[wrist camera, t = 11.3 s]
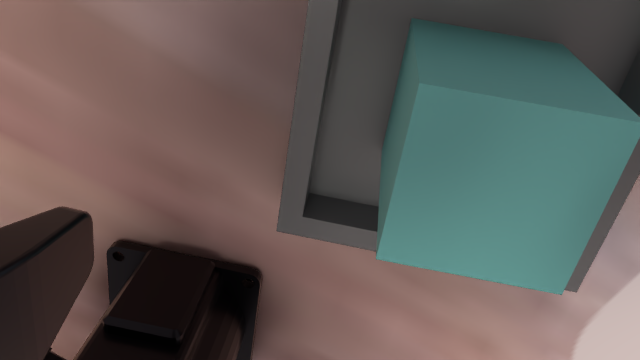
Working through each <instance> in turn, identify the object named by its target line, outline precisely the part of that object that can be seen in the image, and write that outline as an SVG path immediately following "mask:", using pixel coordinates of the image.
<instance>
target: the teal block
mask: <svg viewBox="0 0 640 360" xmlns="http://www.w3.org/2000/svg"><path fill="white" fill-rule="evenodd" d="M639 138H640V117H639V116H638V115H637V114H636V113H635V112H634V111H633V110H632V109H631V108H629V107H628V106H627V105H626V104H625V103H624V102H623V101H622V100H621V99H620V98H619V97H618V96H617V95H616V94H615V93H614V92H613V91H611V90H610V89H609V88H608V87H607V86H606V85H605V84H604V83H603V82H602V81H601V80H600V79H599V78H598V77H597V76H596V75H595V74H593V73H592V72H591V71H590V70H589V69H588V68H587V67H586V66H585V65H584V64H583V63H582V62H581V61H580V60H579V59H578V58H577V57H576V56H574V55H573V54H572V53H571V52H570V51H569V50H568V49H567V48H566V47H565V46H564V45H563V44H558V43H553V42H547V41H541V40H535V39H530V38H524V37H518V36H512V35H507V34H501V33H495V32H489V31H484V30H478V29H472V28H466V27H460V26H455V25H449V24H443V23H437V22H432V21H426V20H420V19H414V18H412V19H411V23H410V28H409V32H408V37H407V41H406V46H405V50H404V55H403V59H402V63H401V68H400V72H399V77H398V81H397V86H396V90H395V95H394V99H393V103H392V108H391V112H390V117H389V121H388V126H387V130H386V135H385V139H384V143H383V148H382V156H381V174H380V193H379V212H378V230H377V249H376V259H378V260H383V261H388V262H393V263H399V264H404V265H409V266H414V267H419V268H425V269H430V270H435V271H440V272H445V273H450V274H456V275H461V276H466V277H471V278H476V279H482V280H487V281H492V282H497V283H502V284H508V285H513V286H518V287H523V288H528V289H534V290H539V291H544V292H549V293H554V294H560V295H562V293H563V291H564V289H565V287H566V285H567V283H568V281H569V279H570V277H571V275H572V273H573V271H574V269H575V267H576V265H577V263H578V261H579V259H580V257H581V255H582V253H583V251H584V249H585V247H586V245H587V243H588V241H589V239H590V237H591V235H592V233H593V231H594V229H595V227H596V225H597V223H598V221H599V219H600V217H601V215H602V213H603V211H604V209H605V206H606V204H607V202H608V200H609V198H610V196H611V194H612V192H613V190H614V188H615V186H616V184H617V182H618V180H619V178H620V176H621V174H622V172H623V170H624V168H625V166H626V164H627V162H628V160H629V158H630V156H631V154H632V152H633V150H634V148H635V146H636V144H637V142H638V140H639Z"/></svg>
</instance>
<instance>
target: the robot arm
mask: <svg viewBox="0 0 640 360" xmlns="http://www.w3.org/2000/svg"><path fill="white" fill-rule="evenodd" d="M118 252H120V253H122V254H123V255H124V256H123V255H121V254H119V253H118ZM93 261H94V244H93V222H92V218H91V215H90V214H89V213H87V212H85V211H81V210H77V209H73V208H68V207H57V208H54V209H51V210H49V211H46V212H43V213H40V214H37V215H35V216H32V217H29V218H26V219H24V220H21V221H18V222H15V223H12V224H10V225H7V226H4V227H1V228H0V360H66V359H64V358H62V357H61V356H59V355H57V354H55V353H53V352H52V351H51V349H52V348H51V347H50V346H51V345H52V343H53V341H54V339H55V337H56V335H57V333H58V332H59V330H60V328H61V326H62V324H63V322H64V320H65V319H66V317H67V315H68V313H69V311H70V309H71V308H72V306H73V304H74V302H75V300H76V298H77V296H78V295H79V293H80V291H81V289H82V287H83V285H84V283H85V282H86V280H87V278H88V276H89V274H90V272H91V269H92V266H93ZM107 266H108V283H109V299H110V306H109V308H108V309H107V311H106V312H105V314H104V315H103V317H102V318H101V319H100V321H99V322H98V324H97V325H96V327H95V328H94V330H93V331H92V333H91V334H90V336H89V337H88V338H87V340H86V341H85V343H84V344H83V346H82V347H81V349H80V350H79V352H78V353H77V355H76V356H75V358H74V359H73V360H252V353H253V345H254V338H255V330H256V322H257V315H258V307H259V299H260V292H261V284H262V276H261V274H260V272H258V271H257V270H256V269H253V268H250V267H245V266H240V265H235V264H230V263H225V262H221V261H216V260H211V259H206V258H201V257H196V256H192V255H187V254H182V253H177V252H172V251H167V250H162V249H158V248H153V247H148V246H143V245H138V244H133V243H129V242H124V241H117V242H114V243H113V244H112V245H111V247H110V248H109V249H108V251H107ZM246 279H251V280H252V281H253V282H249V281H247V280H246Z"/></svg>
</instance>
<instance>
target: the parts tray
mask: <svg viewBox="0 0 640 360" xmlns="http://www.w3.org/2000/svg"><path fill="white" fill-rule="evenodd" d="M412 18H414V19H420V20H426V21H432V22H437V23H443V24H449V25H455V26H460V27H466V28H472V29H478V30H484V31H489V32H495V33H501V34H507V35H512V36H518V37H524V38H530V39H535V40H541V41H547V42H553V43H558V44H563V45H564V46H565V47H566V48H567V49H568V50H569V51H570V52H571V53H572V54H573V55H574V56H576V57H577V58H578V59H579V60H580V61H581V62H582V63H583V64H584V65H585V66H586V67H587V68H588V69H589V70H590V71H591V72H592V73H593V74H595V75H596V76H597V77H598V78H599V79H600V80H601V81H602V82H603V83H604V84H605V85H606V86H607V87H608V88H609V89H610V90H611V91H613V92H614V93H615V94H616V95H617V96H618V97H619V98H620V99H621V100H622V101H623V102H624V103H625V104H626V105H627V106H628V107H629V108H631V109H632V110H633V111H634V112H635V113H636V114H637V115H638V116H639V117H640V0H309V2H308V9H307V17H306V24H305V31H304V38H303V45H302V52H301V59H300V67H299V74H298V81H297V88H296V95H295V102H294V109H293V117H292V124H291V131H290V138H289V145H288V152H287V159H286V167H285V174H284V181H283V188H282V195H281V202H280V209H279V217H278V224H277V231H278V232H283V233H288V234H293V235H298V236H302V237H307V238H312V239H317V240H322V241H327V242H332V243H337V244H342V245H347V246H352V247H356V248H361V249H366V250H371V251H376V249H377V230H378V212H379V193H380V174H381V156H382V148H383V143H384V139H385V135H386V130H387V126H388V121H389V117H390V112H391V108H392V103H393V99H394V95H395V90H396V86H397V81H398V77H399V72H400V68H401V63H402V59H403V55H404V50H405V46H406V41H407V37H408V32H409V28H410V23H411V19H412ZM639 174H640V138H639V140H638V142H637V144H636V146H635V148H634V150H633V152H632V154H631V156H630V158H629V160H628V162H627V164H626V166H625V168H624V170H623V172H622V174H621V176H620V178H619V180H618V182H617V184H616V186H615V188H614V190H613V192H612V194H611V196H610V198H609V200H608V202H607V204H606V206H605V209H604V211H603V213H602V215H601V217H600V219H599V221H598V223H597V225H596V227H595V229H594V231H593V233H592V235H591V237H590V239H589V241H588V243H587V245H586V247H585V249H584V251H583V253H582V255H581V257H580V259H579V261H578V263H577V265H576V267H575V269H574V271H573V273H572V275H571V277H570V279H569V281H568V283H567V285H566V287H565V289H564V290H568V291H573V292H577V290H578V289H579V287H580V285H581V283H582V281H583V279H584V277H585V275H586V274H587V272H588V270H589V268H590V266H591V264H592V262H593V260H594V259H595V257H596V255H597V253H598V251H599V249H600V247H601V245H602V243H603V242H604V240H605V238H606V236H607V234H608V232H609V230H610V228H611V227H612V225H613V223H614V221H615V219H616V217H617V215H618V213H619V212H620V210H621V208H622V206H623V204H624V202H625V200H626V198H627V197H628V195H629V193H630V191H631V189H632V187H633V185H634V183H635V181H636V180H637V178H638V176H639Z"/></svg>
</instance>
